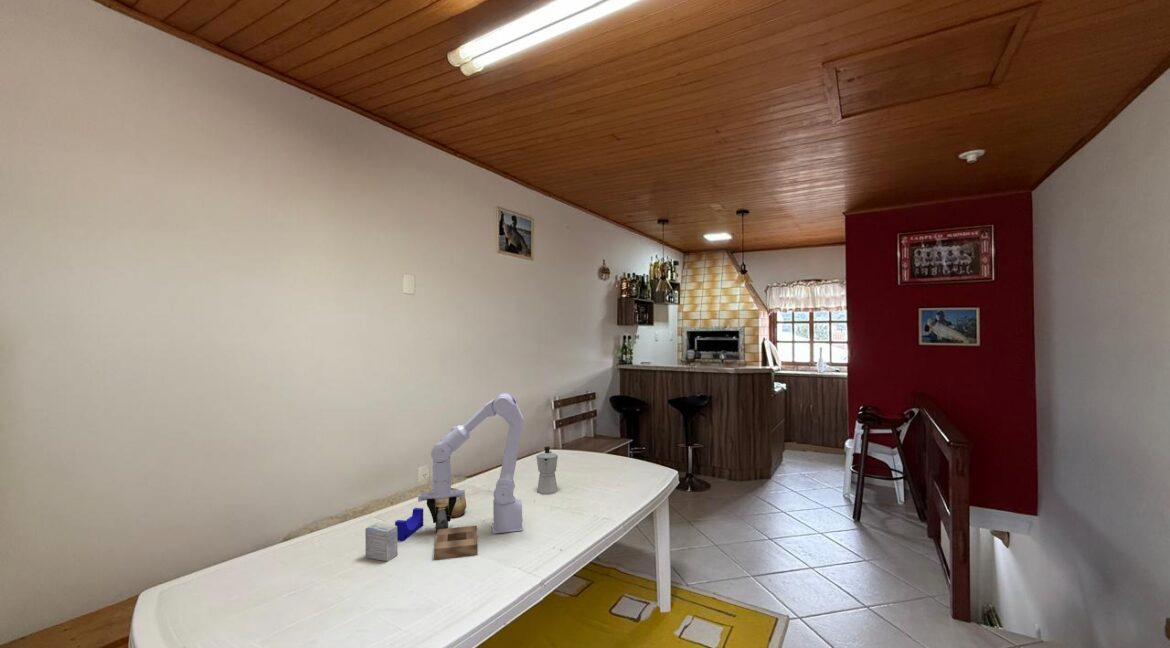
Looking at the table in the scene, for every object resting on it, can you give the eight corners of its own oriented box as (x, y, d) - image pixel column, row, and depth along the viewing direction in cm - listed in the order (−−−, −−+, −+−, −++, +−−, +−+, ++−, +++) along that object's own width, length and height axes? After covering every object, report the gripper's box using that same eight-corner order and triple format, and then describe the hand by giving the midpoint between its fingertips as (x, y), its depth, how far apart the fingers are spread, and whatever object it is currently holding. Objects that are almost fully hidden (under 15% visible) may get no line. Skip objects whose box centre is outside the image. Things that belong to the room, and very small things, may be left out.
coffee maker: (556, 496, 185) (556, 450, 186) (534, 496, 186) (534, 450, 186) (559, 484, 200) (559, 441, 201) (538, 484, 200) (538, 442, 201)
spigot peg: (448, 528, 156) (448, 503, 156) (448, 532, 152) (448, 508, 152) (435, 529, 155) (435, 504, 155) (435, 534, 151) (435, 509, 151)
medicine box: (398, 555, 137) (398, 525, 137) (387, 562, 132) (387, 531, 133) (376, 551, 139) (376, 522, 139) (364, 558, 135) (364, 527, 135)
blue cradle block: (411, 525, 159) (411, 507, 159) (423, 526, 158) (423, 508, 158) (390, 540, 147) (390, 521, 147) (403, 541, 146) (403, 522, 146)
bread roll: (450, 503, 179) (449, 482, 179) (473, 513, 169) (473, 490, 169) (427, 511, 171) (427, 488, 172) (450, 521, 162) (450, 498, 162)
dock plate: (476, 534, 150) (476, 525, 150) (477, 554, 136) (477, 544, 137) (437, 539, 147) (437, 529, 147) (434, 559, 134) (434, 549, 134)
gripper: (464, 474, 159) (464, 514, 159) (419, 477, 156) (419, 518, 155) (464, 480, 152) (464, 522, 152) (417, 483, 149) (417, 527, 149)
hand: (441, 521), depth 153 cm, fingers closed on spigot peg, 4 cm apart
